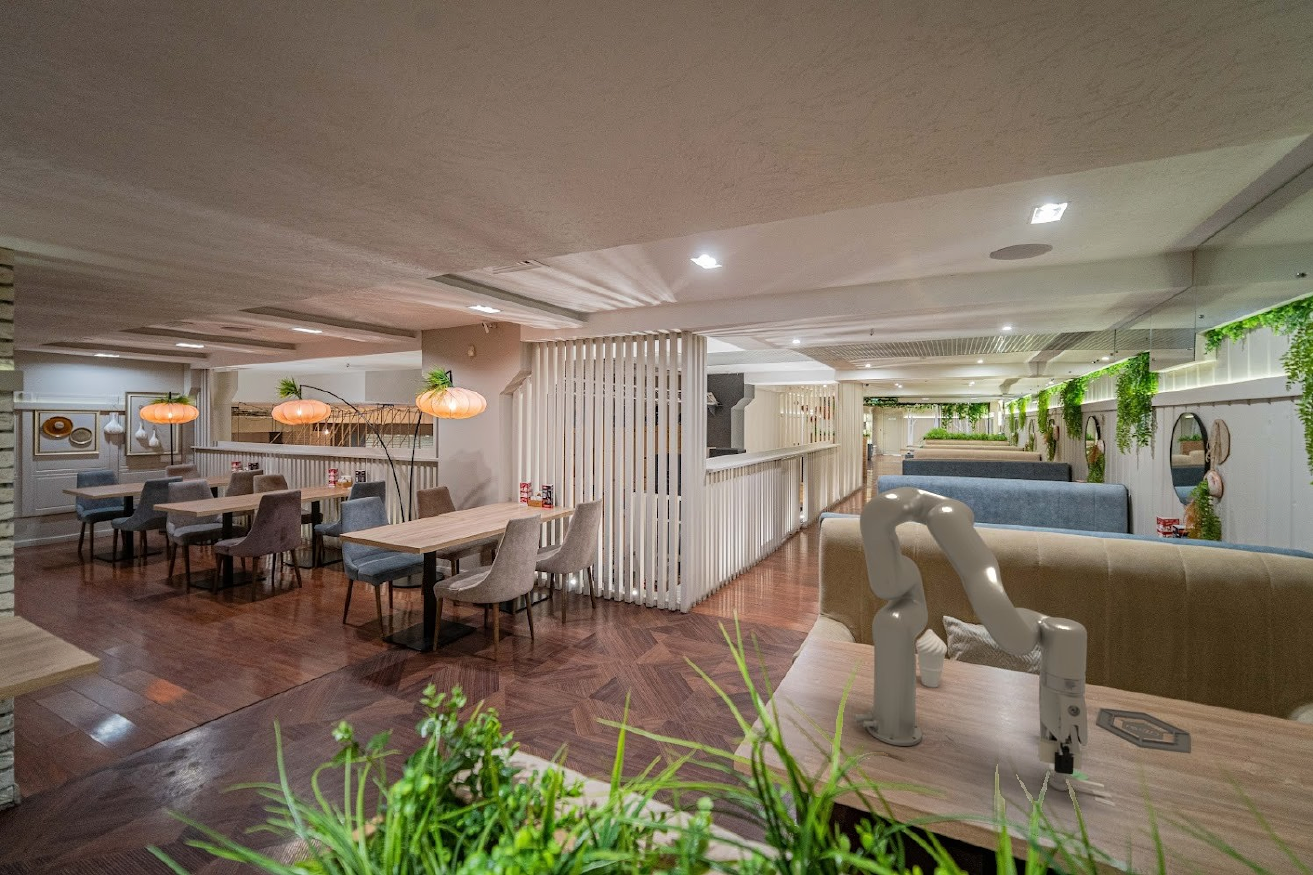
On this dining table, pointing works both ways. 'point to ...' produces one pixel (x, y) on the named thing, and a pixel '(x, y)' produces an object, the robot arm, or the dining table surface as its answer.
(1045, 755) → the beige block on stand
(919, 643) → the soft serve ice cream cone
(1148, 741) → the grey hexagonal plate
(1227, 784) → the dining table surface
